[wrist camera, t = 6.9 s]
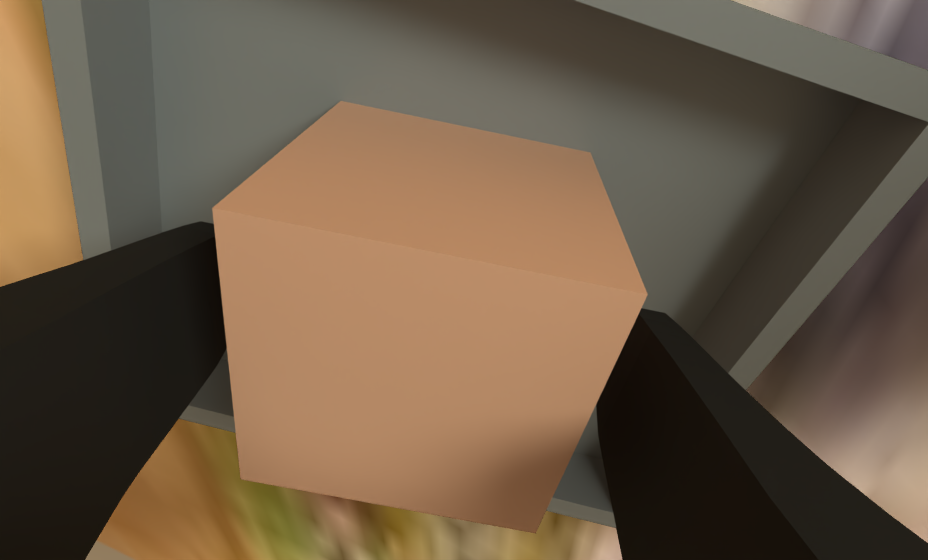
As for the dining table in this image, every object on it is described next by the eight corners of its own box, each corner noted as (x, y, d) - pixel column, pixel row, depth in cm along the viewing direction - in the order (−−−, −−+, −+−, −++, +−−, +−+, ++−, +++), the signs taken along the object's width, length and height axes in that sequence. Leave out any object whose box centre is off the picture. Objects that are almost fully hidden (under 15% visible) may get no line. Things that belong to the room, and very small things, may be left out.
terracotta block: (590, 152, 10) (647, 294, 6) (527, 342, 13) (535, 532, 8) (340, 101, 10) (212, 208, 6) (331, 304, 12) (240, 479, 8)
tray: (899, 67, 9) (998, 95, 7) (612, 462, 16) (626, 530, 14) (119, -209, 8) (0, -259, 6) (157, 343, 14) (105, 400, 13)
